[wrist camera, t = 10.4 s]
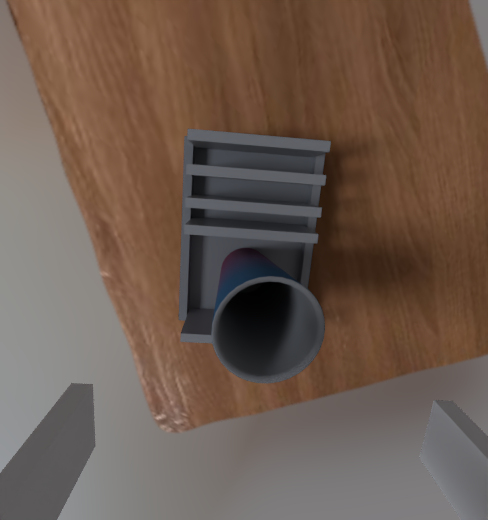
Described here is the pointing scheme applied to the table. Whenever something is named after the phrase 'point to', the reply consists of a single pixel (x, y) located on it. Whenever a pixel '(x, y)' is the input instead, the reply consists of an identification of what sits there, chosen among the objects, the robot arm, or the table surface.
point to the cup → (264, 320)
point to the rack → (244, 212)
